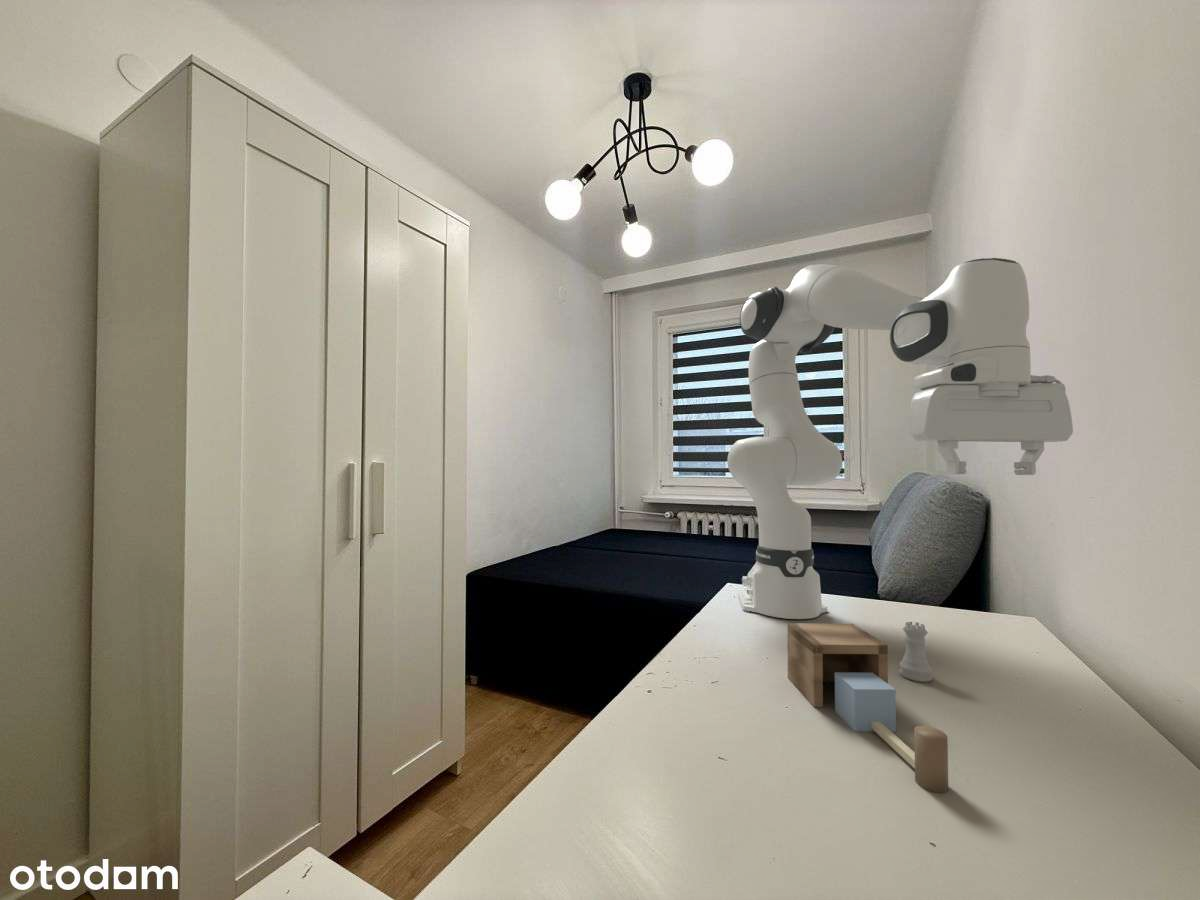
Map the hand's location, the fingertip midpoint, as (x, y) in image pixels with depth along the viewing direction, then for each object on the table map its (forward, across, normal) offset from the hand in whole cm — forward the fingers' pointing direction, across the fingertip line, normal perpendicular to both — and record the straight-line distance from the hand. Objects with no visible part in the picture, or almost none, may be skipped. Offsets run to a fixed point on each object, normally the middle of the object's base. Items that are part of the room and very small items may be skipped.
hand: (990, 474), depth 68 cm
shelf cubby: (+31, +20, -3) cm, 37 cm away
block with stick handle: (+31, +20, +10) cm, 38 cm away
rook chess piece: (+31, +5, -9) cm, 33 cm away
